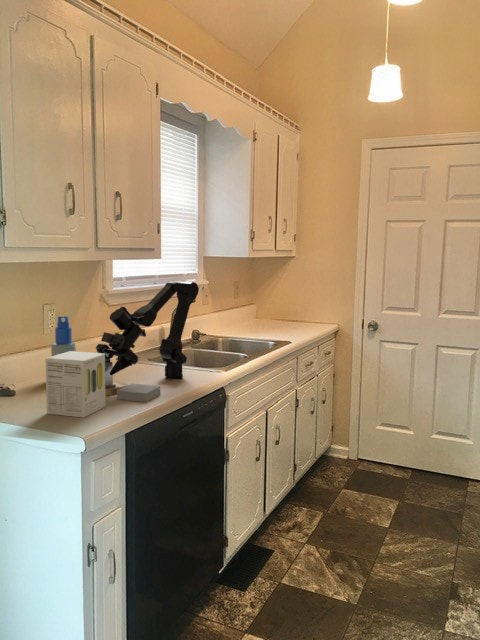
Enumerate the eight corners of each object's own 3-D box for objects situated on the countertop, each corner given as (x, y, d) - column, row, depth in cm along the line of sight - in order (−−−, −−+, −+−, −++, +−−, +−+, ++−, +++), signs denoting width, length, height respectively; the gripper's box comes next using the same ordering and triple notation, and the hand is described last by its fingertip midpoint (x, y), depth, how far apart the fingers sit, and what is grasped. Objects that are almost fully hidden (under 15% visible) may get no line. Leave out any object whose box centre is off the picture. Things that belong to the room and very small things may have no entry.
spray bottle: (76, 382, 204) (74, 317, 201) (51, 383, 201) (49, 317, 198) (76, 377, 212) (75, 314, 209) (52, 378, 210) (51, 315, 207)
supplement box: (84, 418, 160) (82, 360, 158) (45, 414, 164) (44, 357, 162) (106, 406, 173) (105, 353, 171) (70, 402, 176) (69, 350, 174)
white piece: (106, 382, 192) (105, 358, 191) (112, 384, 190) (112, 359, 189) (96, 384, 189) (96, 359, 188) (103, 386, 187) (102, 361, 186)
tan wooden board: (116, 386, 199) (116, 378, 198) (130, 390, 193) (130, 382, 193) (88, 392, 190) (88, 384, 189) (101, 396, 184) (101, 388, 184)
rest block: (132, 391, 192) (132, 383, 191) (160, 394, 189) (160, 385, 188) (116, 399, 181) (116, 390, 181) (146, 402, 178) (146, 393, 178)
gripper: (99, 321, 197) (73, 355, 190) (131, 326, 185) (104, 362, 178) (117, 340, 204) (92, 373, 197) (149, 346, 191) (124, 381, 184)
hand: (102, 372), depth 189 cm, fingers open, 9 cm apart
